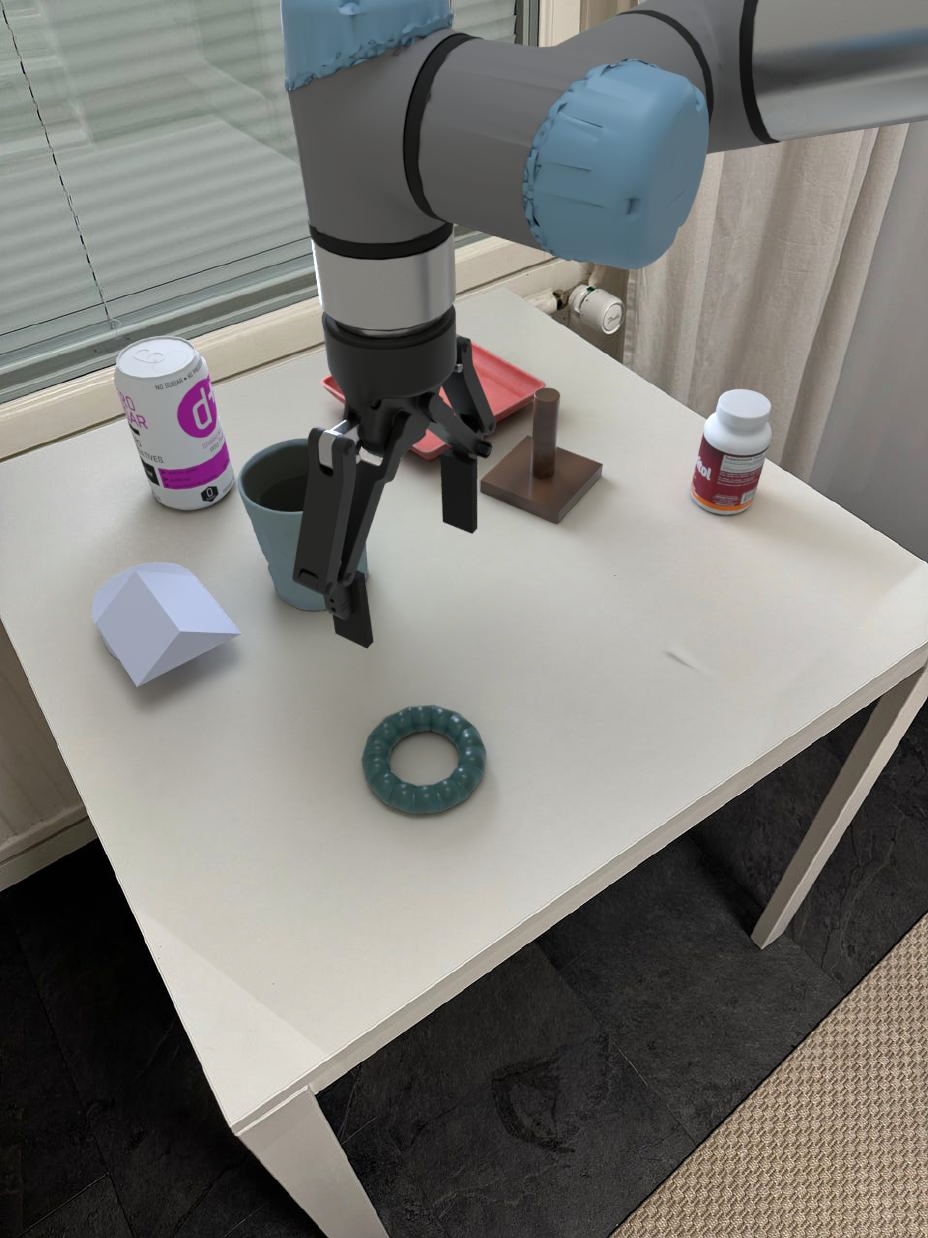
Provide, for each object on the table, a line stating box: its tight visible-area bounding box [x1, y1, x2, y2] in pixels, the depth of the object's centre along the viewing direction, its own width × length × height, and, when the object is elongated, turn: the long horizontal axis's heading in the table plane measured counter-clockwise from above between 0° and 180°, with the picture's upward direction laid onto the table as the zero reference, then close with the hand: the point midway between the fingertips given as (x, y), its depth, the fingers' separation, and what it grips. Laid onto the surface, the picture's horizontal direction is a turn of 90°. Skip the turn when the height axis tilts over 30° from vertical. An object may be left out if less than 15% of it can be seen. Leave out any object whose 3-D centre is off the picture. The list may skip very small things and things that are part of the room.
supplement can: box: [113, 335, 236, 511], centre depth 85 cm, size 8×8×15 cm
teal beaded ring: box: [361, 704, 487, 815], centre depth 67 cm, size 9×9×2 cm
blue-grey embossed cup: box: [237, 437, 368, 612], centre depth 77 cm, size 10×10×12 cm
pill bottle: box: [690, 388, 773, 515], centre depth 85 cm, size 6×6×11 cm
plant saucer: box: [320, 332, 546, 461], centre depth 99 cm, size 18×18×3 cm
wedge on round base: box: [90, 561, 242, 688], centre depth 74 cm, size 9×7×13 cm
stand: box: [479, 387, 604, 524], centre depth 87 cm, size 9×9×10 cm
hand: (410, 578), depth 65 cm, fingers open, 13 cm apart
